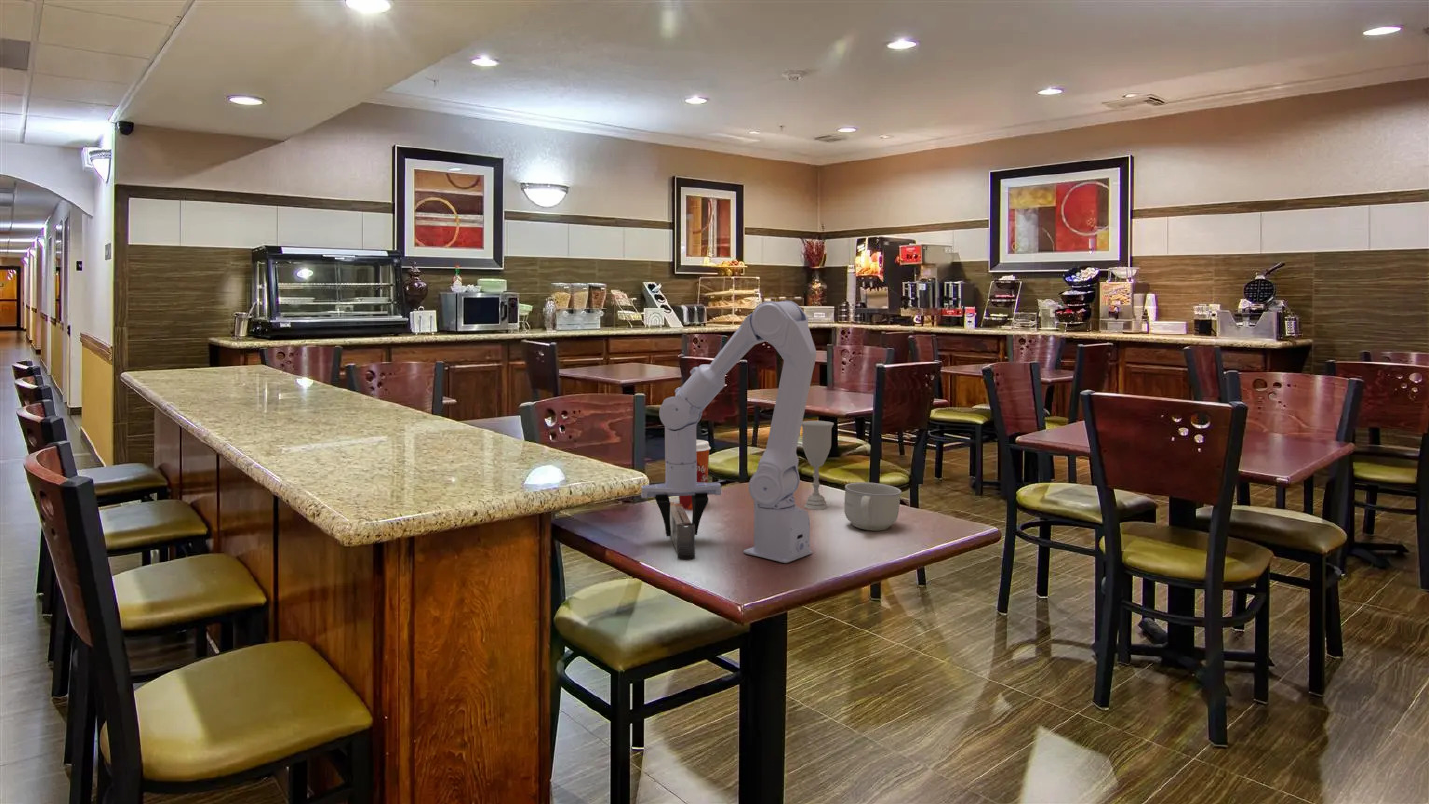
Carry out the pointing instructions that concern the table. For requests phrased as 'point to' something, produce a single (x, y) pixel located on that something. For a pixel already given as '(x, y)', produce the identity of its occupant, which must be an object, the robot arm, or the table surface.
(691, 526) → the tongs fixed arm
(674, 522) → the tongs moving arm
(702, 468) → the paper cup
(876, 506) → the teacup
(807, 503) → the chalice
